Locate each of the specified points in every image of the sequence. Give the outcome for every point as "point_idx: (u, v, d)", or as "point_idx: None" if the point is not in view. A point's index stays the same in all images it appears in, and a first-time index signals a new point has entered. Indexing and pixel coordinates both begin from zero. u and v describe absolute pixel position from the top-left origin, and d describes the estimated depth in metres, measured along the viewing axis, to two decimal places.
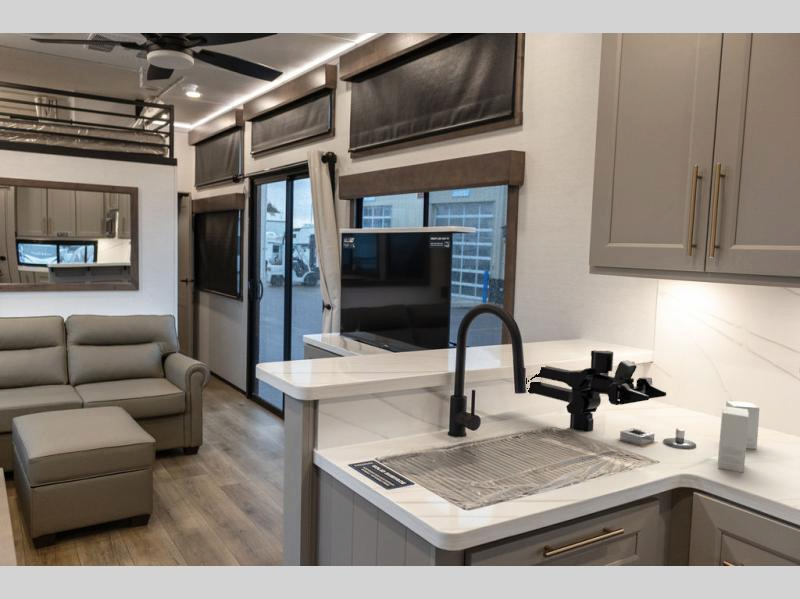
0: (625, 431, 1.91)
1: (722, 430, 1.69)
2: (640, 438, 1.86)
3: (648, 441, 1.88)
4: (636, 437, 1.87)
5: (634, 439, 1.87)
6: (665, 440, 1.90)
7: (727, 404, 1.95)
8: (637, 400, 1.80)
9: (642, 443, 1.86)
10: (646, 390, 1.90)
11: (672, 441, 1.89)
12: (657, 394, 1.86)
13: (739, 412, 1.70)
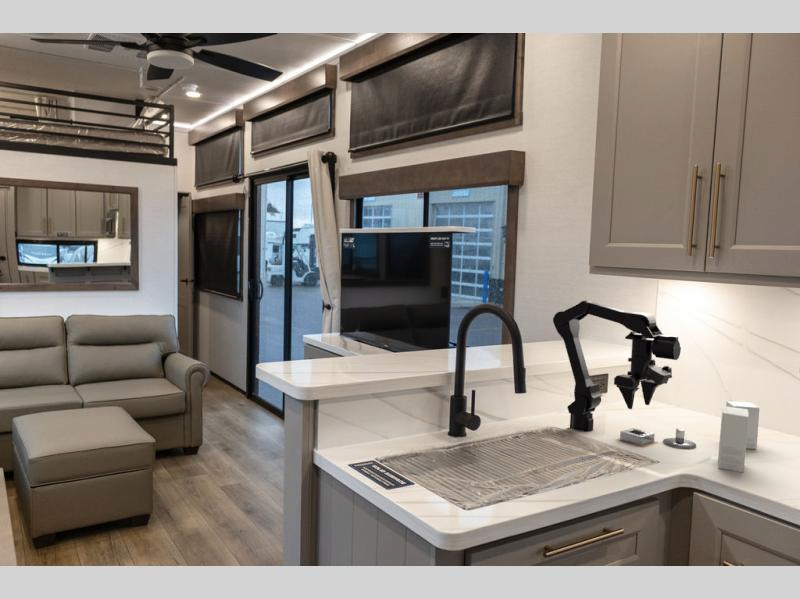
0: (625, 431, 1.91)
1: (722, 430, 1.69)
2: (640, 438, 1.86)
3: (648, 441, 1.88)
4: (636, 437, 1.87)
5: (634, 439, 1.87)
6: (665, 440, 1.90)
7: (727, 404, 1.95)
8: (625, 399, 1.87)
9: (642, 443, 1.86)
10: (648, 383, 1.92)
11: (672, 441, 1.89)
12: (645, 396, 1.93)
13: (739, 412, 1.70)
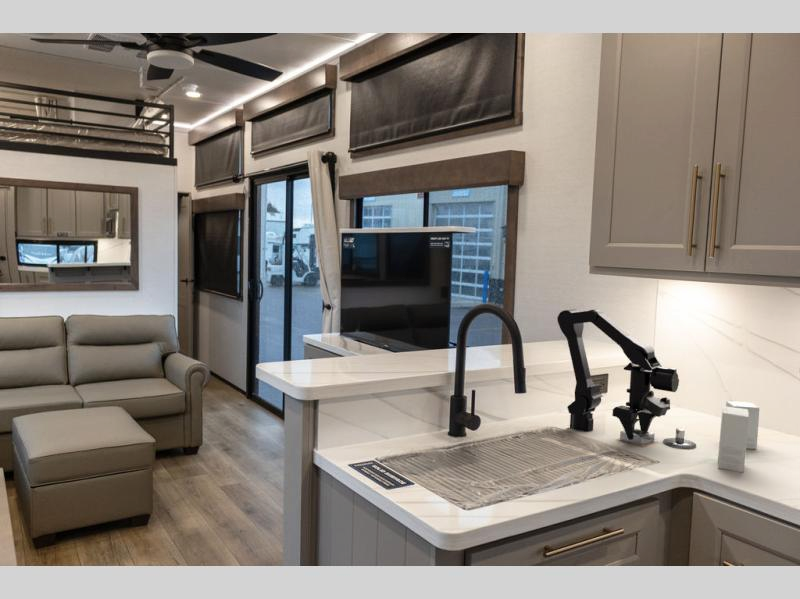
0: None
1: (722, 430, 1.69)
2: (640, 438, 1.86)
3: (648, 441, 1.88)
4: (636, 437, 1.87)
5: (634, 439, 1.87)
6: (665, 440, 1.90)
7: (727, 404, 1.95)
8: (625, 430, 1.88)
9: (642, 443, 1.86)
10: (645, 414, 1.93)
11: (672, 441, 1.89)
12: (642, 426, 1.93)
13: (739, 412, 1.70)
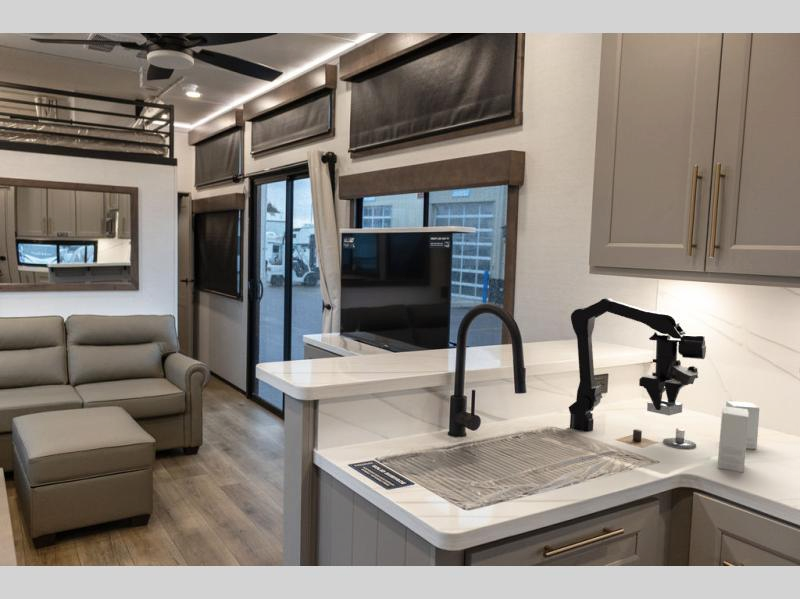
0: (652, 402, 1.89)
1: (722, 430, 1.69)
2: (668, 408, 1.83)
3: (676, 411, 1.85)
4: (664, 406, 1.84)
5: (662, 409, 1.85)
6: (665, 440, 1.90)
7: (727, 404, 1.95)
8: (652, 400, 1.86)
9: (670, 413, 1.83)
10: (672, 384, 1.90)
11: (672, 441, 1.89)
12: (669, 397, 1.90)
13: (739, 412, 1.70)
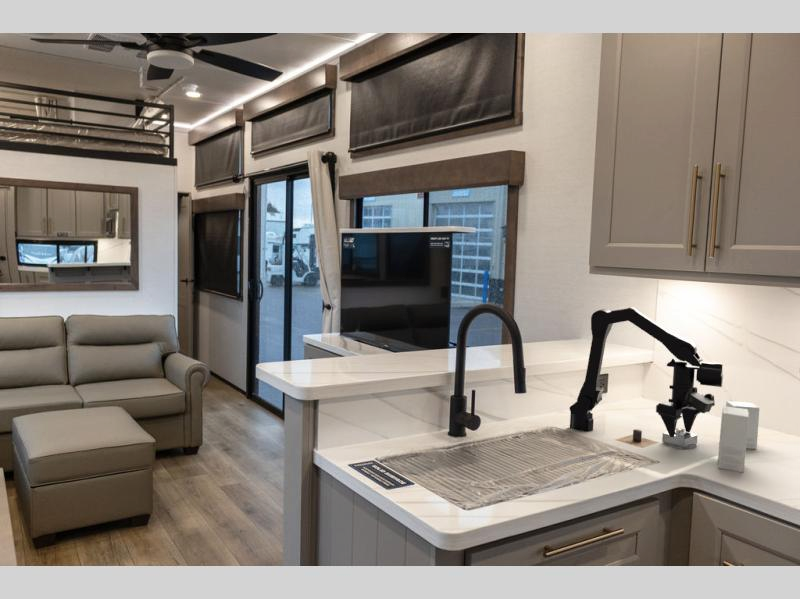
0: (667, 433, 1.89)
1: (722, 430, 1.69)
2: (684, 440, 1.83)
3: (691, 443, 1.86)
4: (680, 438, 1.84)
5: (678, 441, 1.85)
6: None
7: (727, 404, 1.95)
8: (666, 427, 1.85)
9: (686, 445, 1.84)
10: (689, 410, 1.91)
11: None
12: (686, 423, 1.91)
13: (739, 412, 1.70)
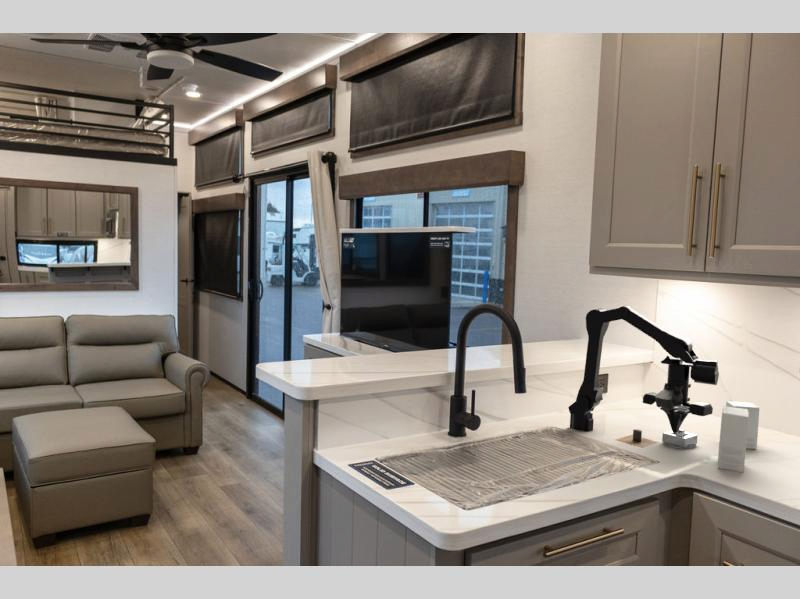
0: (667, 433, 1.89)
1: (722, 430, 1.69)
2: (684, 440, 1.83)
3: (691, 443, 1.86)
4: (680, 438, 1.84)
5: (678, 441, 1.85)
6: None
7: (727, 404, 1.95)
8: None
9: (686, 445, 1.84)
10: None
11: None
12: None
13: (739, 412, 1.70)
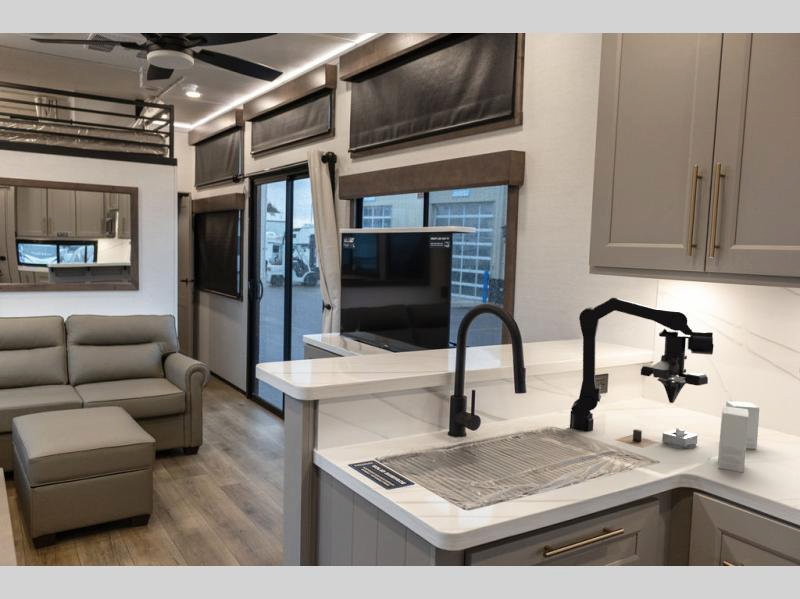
0: (667, 433, 1.89)
1: (722, 430, 1.69)
2: (684, 440, 1.83)
3: (691, 443, 1.86)
4: (680, 438, 1.84)
5: (678, 441, 1.85)
6: None
7: (727, 404, 1.95)
8: None
9: (686, 445, 1.84)
10: None
11: None
12: None
13: (739, 412, 1.70)
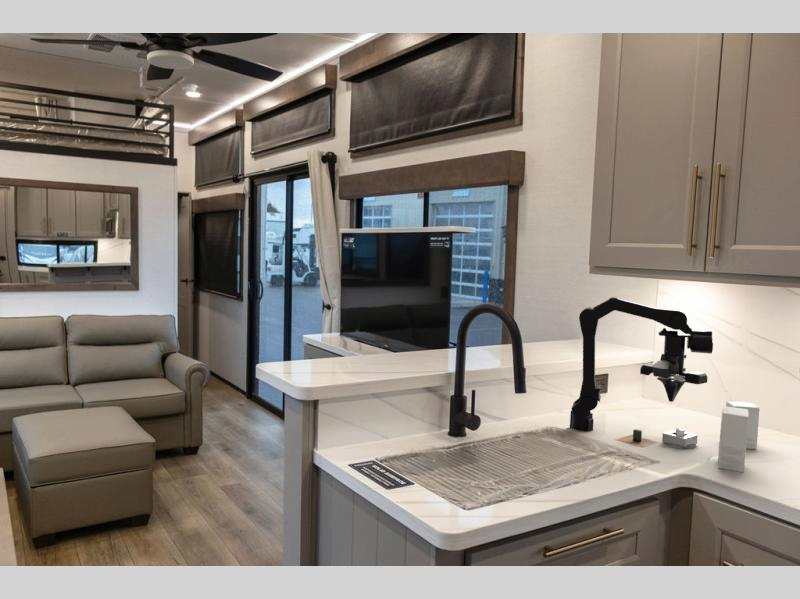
0: (667, 433, 1.89)
1: (722, 430, 1.69)
2: (684, 440, 1.83)
3: (691, 443, 1.86)
4: (680, 438, 1.84)
5: (678, 441, 1.85)
6: None
7: (727, 404, 1.95)
8: None
9: (686, 445, 1.84)
10: None
11: None
12: None
13: (739, 412, 1.70)
